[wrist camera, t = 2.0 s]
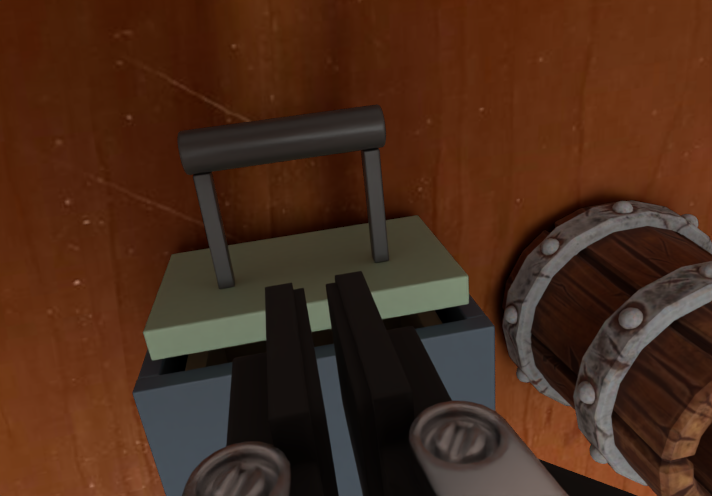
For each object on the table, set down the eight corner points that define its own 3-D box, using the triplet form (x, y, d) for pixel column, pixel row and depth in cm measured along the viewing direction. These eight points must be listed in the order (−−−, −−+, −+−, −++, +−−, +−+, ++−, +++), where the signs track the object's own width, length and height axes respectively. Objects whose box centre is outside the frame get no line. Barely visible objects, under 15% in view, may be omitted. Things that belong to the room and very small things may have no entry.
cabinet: (169, 280, 26) (131, 393, 18) (426, 238, 27) (495, 325, 19) (229, 505, 32) (220, 664, 24) (440, 461, 33) (496, 597, 25)
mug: (470, 214, 27) (781, 384, 14) (695, 156, 31) (1111, 247, 17) (478, 404, 31) (716, 669, 18) (673, 334, 35) (987, 512, 22)
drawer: (136, 120, 22) (89, 158, 16) (409, 83, 23) (464, 105, 17) (230, 479, 30) (223, 598, 24) (432, 437, 31) (475, 540, 25)
